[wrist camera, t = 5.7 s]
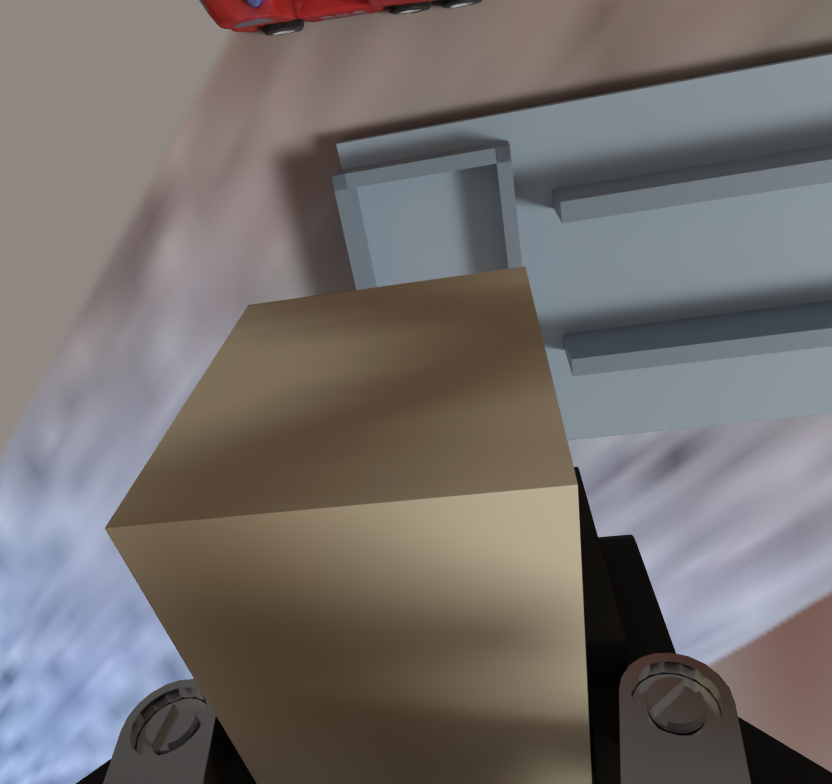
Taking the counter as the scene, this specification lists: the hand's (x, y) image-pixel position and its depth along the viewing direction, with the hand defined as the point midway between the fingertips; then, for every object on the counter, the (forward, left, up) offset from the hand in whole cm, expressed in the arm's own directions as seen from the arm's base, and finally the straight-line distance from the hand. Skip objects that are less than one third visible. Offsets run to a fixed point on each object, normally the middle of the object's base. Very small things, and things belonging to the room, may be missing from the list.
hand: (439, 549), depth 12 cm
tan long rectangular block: (0, 0, 0) cm, 0 cm away
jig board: (-8, 0, -16) cm, 18 cm away
